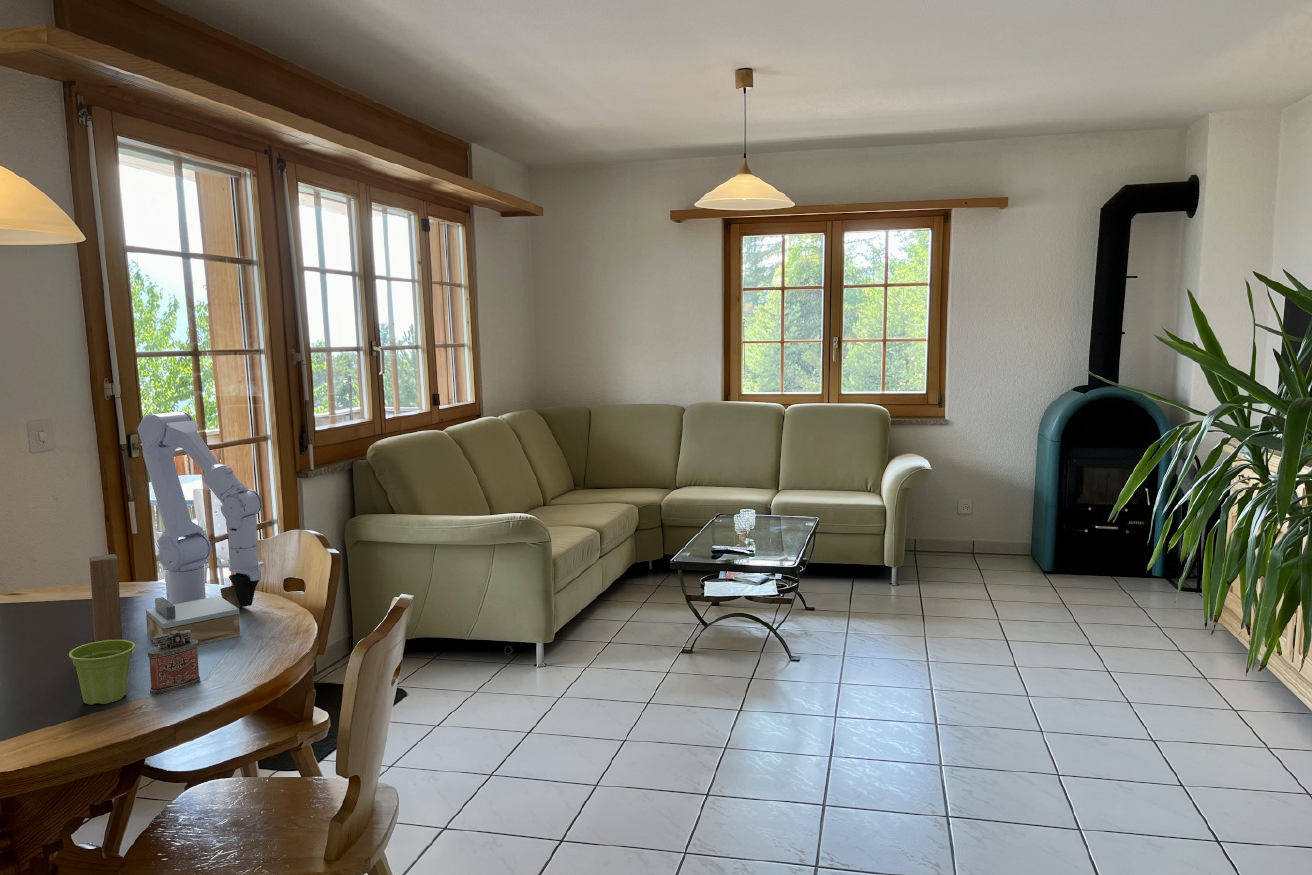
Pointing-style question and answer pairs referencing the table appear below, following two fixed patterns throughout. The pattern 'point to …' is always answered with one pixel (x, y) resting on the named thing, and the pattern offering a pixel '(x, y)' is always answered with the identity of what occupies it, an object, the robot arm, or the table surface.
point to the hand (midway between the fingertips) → (246, 605)
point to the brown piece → (201, 629)
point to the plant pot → (103, 669)
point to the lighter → (173, 663)
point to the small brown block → (230, 595)
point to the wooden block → (105, 598)
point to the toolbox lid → (189, 611)
